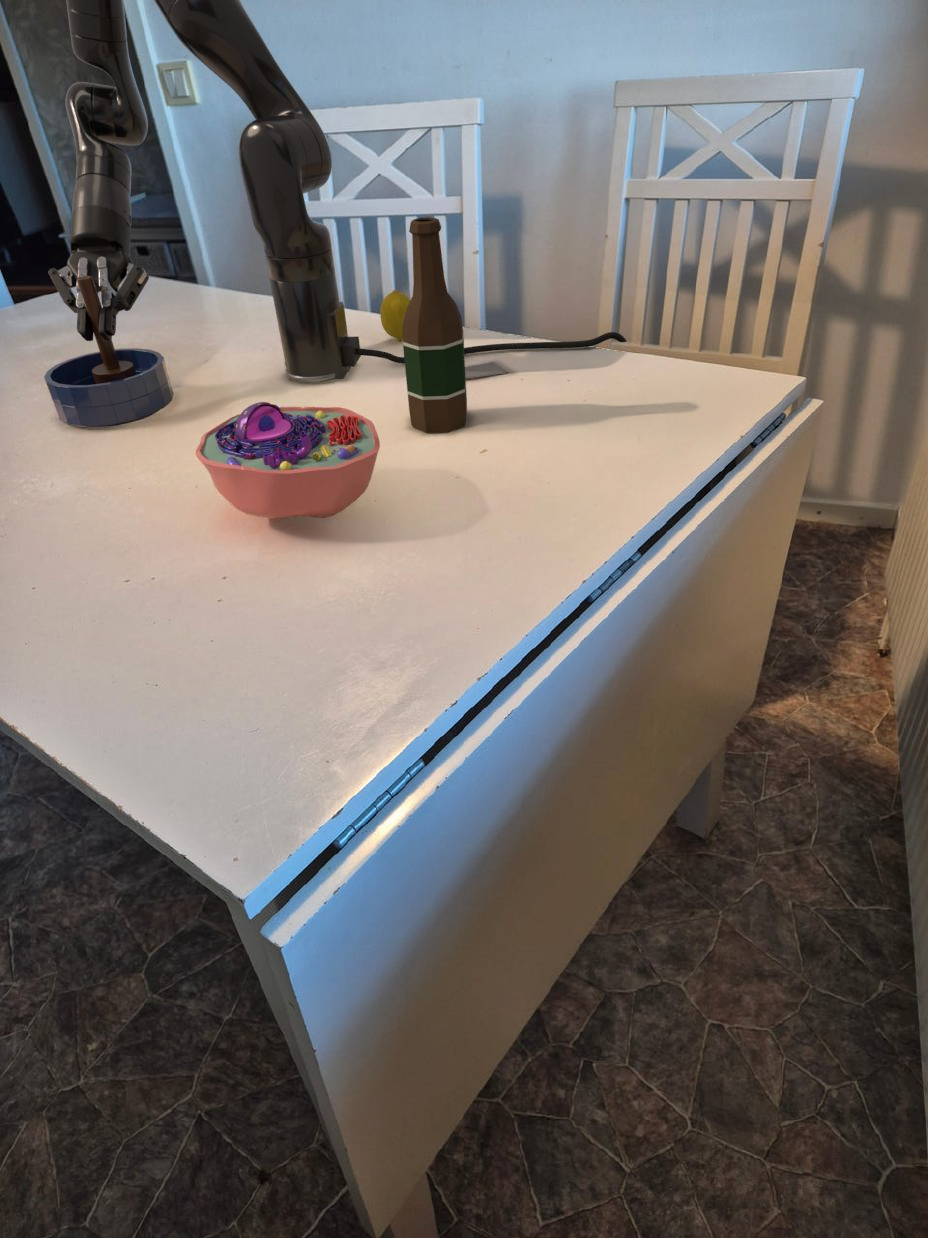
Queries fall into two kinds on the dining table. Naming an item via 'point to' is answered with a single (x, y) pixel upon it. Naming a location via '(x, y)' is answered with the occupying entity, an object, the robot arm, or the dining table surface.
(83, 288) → the wooden plunger stick
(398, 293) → the lemon
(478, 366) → the cleaver
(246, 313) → the dining table surface
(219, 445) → the cell model
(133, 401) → the blue round bowl
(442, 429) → the beer bottle
